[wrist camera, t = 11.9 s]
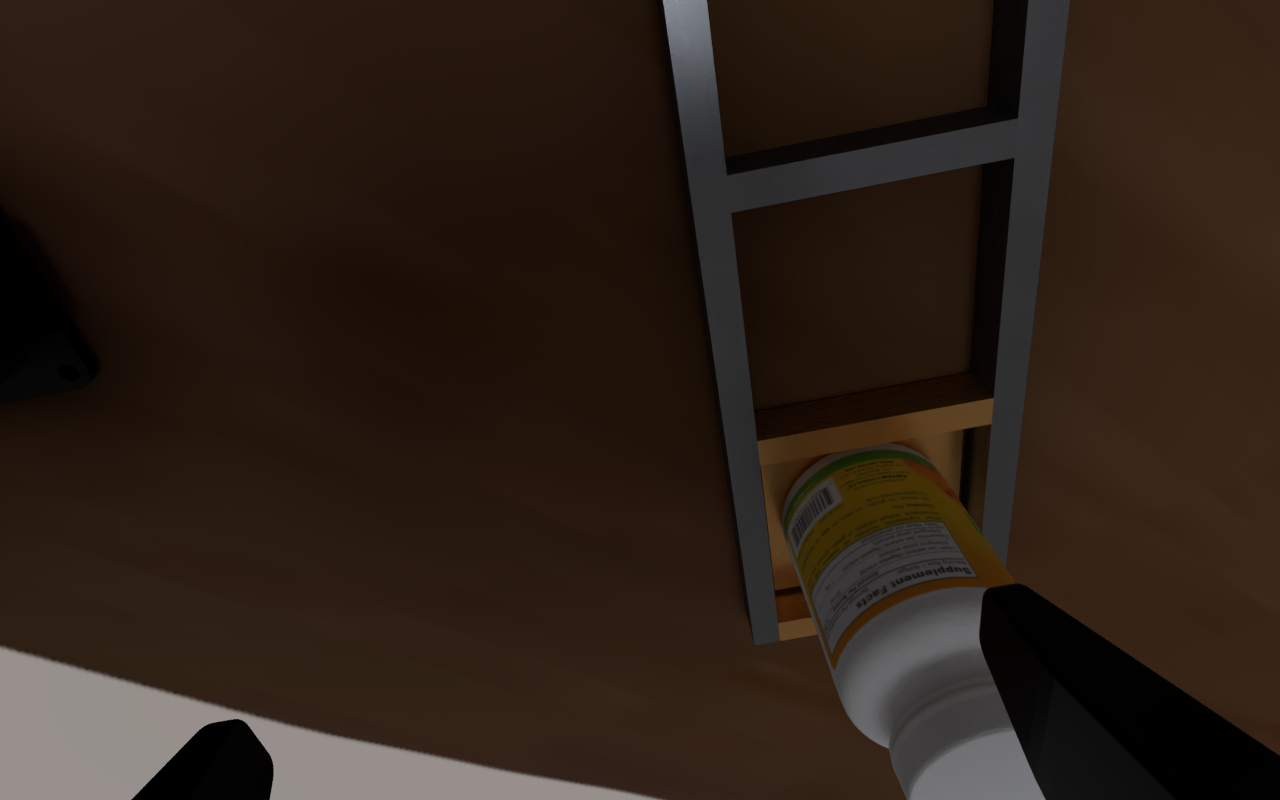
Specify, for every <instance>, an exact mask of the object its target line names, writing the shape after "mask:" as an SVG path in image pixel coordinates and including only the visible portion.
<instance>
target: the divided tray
mask: <svg viewBox="0 0 1280 800" xmlns="http://www.w3.org/2000/svg"><path fill="white" fill-rule="evenodd" d="M657 1H658V8H659V15H660V22H661V29H662V35H663V42H664V49H665V56H666V63H667V70H668V77H669V84H670V91H671V97H672V104H673V111H674V118H675V125H676V132H677V139H678V146H679V152H680V159H681V166H682V173H683V180H684V187H685V194H686V201H687V207H688V214H689V221H690V228H691V235H692V242H693V249H694V256H695V262H696V269H697V276H698V283H699V290H700V297H701V304H702V311H703V317H704V324H705V331H706V338H707V345H708V352H709V359H710V366H711V373H712V379H713V386H714V393H715V400H716V407H717V414H718V421H719V428H720V434H721V441H722V448H723V455H724V462H725V469H726V476H727V483H728V489H729V496H730V503H731V510H732V517H733V524H734V531H735V538H736V544H737V551H738V558H739V565H740V572H741V579H742V586H743V593H744V600H745V606H746V613H747V617H748V621H749V625H750V629H751V633H752V637H753V641H754V645H759V644H765V643H771V642H777V641H782V640H788V639H794V638H800V637H805V636H811V635H817V634H818V633H817V630H816V628H815V625H814V622H813V619H812V616H811V613H810V610H809V607H808V605H807V602H806V599H805V596H804V593H803V590H802V587H801V585H800V582H799V579H798V576H797V573H796V570H795V567H794V564H793V561H792V559H791V556H790V553H789V550H788V547H787V544H786V540H785V537H784V533H783V529H782V512H783V507H784V503H785V500H786V497H787V495H788V493H789V491H790V490H791V488H792V486H793V485H794V483H795V482H796V481H797V480H798V478H799V477H800V476H801V475H802V474H803V473H804V472H805V471H806V470H807V469H808V468H810V467H811V466H812V465H813V464H815V463H816V462H818V461H819V460H820V459H822V458H824V457H825V456H827V455H829V454H831V453H835V452H840V451H846V450H851V449H857V448H862V447H868V446H873V445H879V444H884V443H894V444H898V445H902V446H905V447H908V448H911V449H913V450H915V451H917V452H919V453H920V454H922V455H923V456H925V457H926V458H927V459H928V460H930V461H931V462H932V463H933V464H934V466H935V467H936V468H937V469H938V471H939V472H940V473H941V475H942V476H943V477H944V478H945V480H946V481H947V483H948V484H949V486H950V487H951V488H952V490H953V491H954V493H955V494H956V496H957V497H958V499H959V490H960V474H961V458H962V442H963V429H967V431H966V446H965V461H964V476H963V491H962V505H963V506H964V508H965V509H966V510H967V512H968V513H969V515H970V516H971V518H972V519H973V521H974V522H975V524H976V525H977V527H978V528H979V530H980V531H981V532H982V534H983V535H984V537H985V538H986V540H987V541H988V543H989V544H990V546H991V547H992V549H993V550H994V552H995V553H996V555H997V556H998V557H999V559H1000V560H1001V562H1002V563H1003V565H1004V566H1005V568H1006V560H1007V551H1008V542H1009V533H1010V524H1011V516H1012V507H1013V498H1014V489H1015V480H1016V471H1017V463H1018V454H1019V445H1020V436H1021V427H1022V418H1023V410H1024V401H1025V392H1026V383H1027V374H1028V365H1029V357H1030V348H1031V339H1032V330H1033V321H1034V312H1035V304H1036V295H1037V286H1038V277H1039V268H1040V260H1041V251H1042V242H1043V233H1044V224H1045V215H1046V207H1047V198H1048V189H1049V180H1050V171H1051V162H1052V154H1053V145H1054V136H1055V127H1056V118H1057V109H1058V101H1059V92H1060V83H1061V74H1062V65H1063V56H1064V48H1065V39H1066V30H1067V21H1068V12H1069V4H1070V0H995V9H994V24H993V39H992V54H991V69H990V84H989V99H988V107H983V108H977V109H972V110H967V111H962V112H957V113H952V114H947V115H942V116H937V117H932V118H927V119H922V120H917V121H911V122H906V123H901V124H896V125H891V126H886V127H881V128H876V129H871V130H866V131H861V132H856V133H851V134H845V135H840V136H835V137H830V138H825V139H820V140H815V141H810V142H805V143H800V144H795V145H790V146H785V147H779V148H774V149H769V150H764V151H759V152H754V153H749V154H744V155H739V156H734V157H729V158H725V155H724V146H723V138H722V129H721V120H720V111H719V103H718V94H717V85H716V76H715V68H714V59H713V50H712V41H711V33H710V24H709V15H708V6H707V0H657ZM980 164H984V175H983V190H982V205H981V220H980V235H979V250H978V265H977V280H976V295H975V310H974V325H973V340H972V356H971V371H970V372H969V373H964V374H958V375H953V376H948V377H942V378H937V379H931V380H926V381H920V382H915V383H910V384H904V385H899V386H893V387H888V388H883V389H877V390H872V391H866V392H861V393H855V394H850V395H845V396H839V397H834V398H828V399H823V400H818V401H812V402H807V403H801V404H796V405H790V406H785V407H780V408H774V409H769V410H763V411H758V412H754V409H753V400H752V391H751V382H750V374H749V365H748V356H747V347H746V339H745V330H744V321H743V312H742V304H741V295H740V286H739V277H738V269H737V260H736V251H735V243H734V234H733V225H732V216H731V213H733V212H738V211H743V210H748V209H753V208H759V207H764V206H769V205H774V204H779V203H784V202H789V201H795V200H800V199H805V198H810V197H815V196H820V195H825V194H831V193H836V192H841V191H846V190H851V189H856V188H861V187H867V186H872V185H877V184H882V183H887V182H892V181H897V180H903V179H908V178H913V177H918V176H923V175H928V174H933V173H939V172H944V171H949V170H954V169H959V168H964V167H969V166H975V165H980ZM774 588H775V590H774Z"/></svg>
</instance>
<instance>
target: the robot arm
mask: <svg viewBox="0 0 1280 800" xmlns="http://www.w3.org/2000/svg"><path fill="white" fill-rule="evenodd" d="M67 364H69V365H71V366H73V367H75V368H76V369H77V370H78V372H79V373H76V372H73V371H72V370H71V369H70V368H69V367H68V365H67ZM97 372H98V368H97V365H96V363H95V361H94V359H93V358H92V356H91V355H90V353H89V352H88V350H87V348H86V347H85V345H84V344H83V342H82V341H81V339H80V338H79V336H78V334H77V333H76V331H75V330H74V328H73V327H72V325H71V324H70V322H69V321H68V319H67V317H66V316H65V314H64V313H63V311H62V310H61V308H60V307H59V305H58V303H57V302H56V300H55V299H54V297H53V296H52V294H51V293H50V291H49V289H48V288H47V286H46V285H45V283H44V282H43V280H42V279H41V277H40V275H39V274H38V272H37V271H36V269H35V268H34V266H33V265H32V263H31V262H30V260H29V258H28V257H27V255H26V254H25V252H24V251H23V249H22V248H21V246H20V244H19V243H18V241H17V240H16V238H15V237H14V235H13V234H12V232H11V230H10V229H9V227H8V226H7V224H6V223H5V221H4V220H3V218H2V216H1V215H0V404H1V403H6V402H12V401H17V400H22V399H27V398H32V397H38V396H43V395H48V394H53V393H58V392H64V391H69V390H74V389H79V388H82V387H84V386H86V385H87V384H88V383H89V382H91V381H92V380H93V379H94V378H95V376H96V375H97ZM979 641H980V646H981V650H982V653H983V656H984V658H985V661H986V663H987V665H988V668H989V670H990V673H991V675H992V677H993V680H994V682H995V685H996V687H997V689H998V692H999V694H1000V697H1001V699H1002V702H1003V704H1004V706H1005V709H1006V711H1007V714H1008V716H1009V718H1010V721H1011V723H1012V726H1013V728H1014V730H1015V733H1016V735H1017V738H1018V740H1019V743H1020V745H1021V747H1022V750H1023V752H1024V755H1025V757H1026V759H1027V762H1028V764H1029V766H1030V769H1031V771H1032V773H1033V775H1034V778H1035V780H1036V782H1037V784H1038V786H1039V788H1040V790H1041V792H1042V794H1043V796H1044V798H1045V800H1280V756H1279V755H1278V754H1276V753H1275V752H1273V751H1272V750H1270V749H1269V748H1267V747H1266V746H1264V745H1263V744H1261V743H1260V742H1258V741H1257V740H1255V739H1254V738H1252V737H1251V736H1249V735H1248V734H1247V733H1245V732H1244V731H1242V730H1241V729H1239V728H1238V727H1236V726H1235V725H1233V724H1232V723H1230V722H1229V721H1227V720H1226V719H1224V718H1223V717H1221V716H1220V715H1218V714H1217V713H1215V712H1214V711H1212V710H1211V709H1209V708H1208V707H1206V706H1205V705H1203V704H1202V703H1200V702H1199V701H1197V700H1196V699H1194V698H1193V697H1191V696H1190V695H1188V694H1187V693H1185V692H1184V691H1182V690H1181V689H1179V688H1178V687H1176V686H1175V685H1173V684H1172V683H1170V682H1169V681H1167V680H1166V679H1164V678H1163V677H1161V676H1160V675H1158V674H1157V673H1155V672H1154V671H1152V670H1151V669H1149V668H1148V667H1146V666H1145V665H1143V664H1142V663H1140V662H1139V661H1137V660H1136V659H1135V658H1133V657H1132V656H1130V655H1129V654H1127V653H1126V652H1124V651H1123V650H1121V649H1120V648H1118V647H1117V646H1115V645H1114V644H1112V643H1111V642H1109V641H1108V640H1106V639H1105V638H1103V637H1102V636H1100V635H1099V634H1097V633H1096V632H1094V631H1093V630H1091V629H1090V628H1088V627H1087V626H1085V625H1084V624H1082V623H1081V622H1079V621H1078V620H1076V619H1075V618H1073V617H1072V616H1070V615H1069V614H1067V613H1066V612H1064V611H1063V610H1061V609H1060V608H1058V607H1057V606H1055V605H1054V604H1052V603H1051V602H1049V601H1048V600H1046V599H1045V598H1043V597H1042V596H1040V595H1039V594H1037V593H1036V592H1034V591H1033V590H1031V589H1030V588H1028V587H1027V586H1025V585H1022V584H1018V583H1013V584H1007V585H1001V586H996V587H990V588H988V589H986V590H985V592H984V593H983V597H982V606H981V617H980V628H979ZM272 782H273V762H272V759H271V756H270V755H269V753H268V752H267V751H266V749H265V748H264V746H263V745H262V744H261V742H260V741H259V740H258V738H257V737H256V736H255V734H254V733H253V731H252V730H251V729H250V727H249V726H248V725H247V724H246V723H245V722H244V721H242V720H239V719H234V720H227V721H222V722H216V723H211V724H208V725H206V726H204V727H203V728H201V729H200V730H199V731H198V732H197V733H196V734H195V735H194V736H193V737H192V738H191V739H190V740H189V741H188V742H187V743H186V744H185V745H184V746H183V747H182V748H181V749H180V750H179V751H178V753H176V755H175V756H174V757H173V758H172V759H171V760H170V761H169V762H168V763H167V764H166V765H165V766H164V767H163V768H162V769H161V770H160V771H159V772H158V773H157V774H156V775H155V776H154V777H153V778H152V779H151V780H150V781H149V782H148V783H147V784H146V786H144V787H143V788H142V790H140V792H139V793H138V794H137V795H136V796H135V797H134V798H133V799H132V800H270V793H271V788H272Z"/></svg>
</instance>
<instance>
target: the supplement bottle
mask: <svg viewBox="0 0 1280 800" xmlns="http://www.w3.org/2000/svg"><path fill="white" fill-rule="evenodd" d="M782 529H783V533H784V537H785V540H786V544H787V547H788V550H789V553H790V556H791V559H792V561H793V564H794V567H795V570H796V573H797V576H798V579H799V582H800V585H801V587H802V590H803V593H804V596H805V599H806V602H807V605H808V607H809V610H810V613H811V616H812V619H813V622H814V625H815V628H816V630H817V633H818V636H819V639H820V642H821V645H822V648H823V651H824V654H825V657H826V659H827V662H828V665H829V668H830V671H831V674H832V677H833V680H834V683H835V686H836V689H837V691H838V694H839V697H840V699H841V702H842V704H843V707H844V709H845V711H846V713H847V714H848V716H849V718H850V719H851V721H852V722H853V723H854V725H855V726H856V727H857V728H858V729H859V730H860V731H861V732H862V733H863V734H865V735H866V736H867V737H868V738H869V739H871V740H873V741H874V742H876V743H878V744H880V745H882V746H884V747H886V748H889V751H890V755H891V762H892V766H893V769H894V771H895V773H896V776H897V778H898V780H899V782H900V785H901V787H902V789H903V792H904V794H905V797H906V799H907V800H1045V798H1044V796H1043V794H1042V792H1041V790H1040V788H1039V786H1038V784H1037V782H1036V780H1035V778H1034V775H1033V773H1032V771H1031V769H1030V766H1029V764H1028V762H1027V759H1026V757H1025V755H1024V752H1023V750H1022V747H1021V745H1020V743H1019V740H1018V738H1017V735H1016V733H1015V730H1014V728H1013V726H1012V723H1011V721H1010V718H1009V716H1008V714H1007V711H1006V709H1005V706H1004V704H1003V702H1002V699H1001V697H1000V694H999V692H998V689H997V687H996V685H995V682H994V680H993V677H992V675H991V673H990V670H989V668H988V665H987V663H986V661H985V658H984V656H983V653H982V650H981V646H980V641H979V628H980V617H981V606H982V597H983V593H984V592H985V590H986V589H988V588H990V587H996V586H1001V585H1007V584H1013V583H1015V581H1014V580H1013V578H1012V577H1011V575H1010V574H1009V572H1008V571H1007V569H1006V568H1005V566H1004V565H1003V563H1002V562H1001V560H1000V559H999V557H998V556H997V555H996V553H995V552H994V550H993V549H992V547H991V546H990V544H989V543H988V541H987V540H986V538H985V537H984V535H983V534H982V532H981V531H980V530H979V528H978V527H977V525H976V524H975V522H974V521H973V519H972V518H971V516H970V515H969V513H968V512H967V510H966V509H965V508H964V506H963V505H962V503H961V502H960V500H959V499H958V497H957V496H956V494H955V493H954V491H953V490H952V488H951V487H950V486H949V484H948V483H947V481H946V480H945V478H944V477H943V476H942V475H941V473H940V472H939V471H938V469H937V468H936V467H935V466H934V464H933V463H932V462H931V461H930V460H928V459H927V458H926V457H925V456H923V455H922V454H920V453H919V452H917V451H915V450H913V449H911V448H908V447H905V446H902V445H898V444H894V443H884V444H879V445H873V446H868V447H862V448H857V449H851V450H846V451H840V452H835V453H831V454H829V455H827V456H825V457H824V458H822V459H820V460H819V461H818V462H816V463H815V464H813V465H812V466H811V467H810V468H808V469H807V470H806V471H805V472H804V473H803V474H802V475H801V476H800V477H799V478H798V480H797V481H796V482H795V483H794V485H793V486H792V488H791V490H790V491H789V493H788V495H787V497H786V500H785V503H784V507H783V512H782Z"/></svg>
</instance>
